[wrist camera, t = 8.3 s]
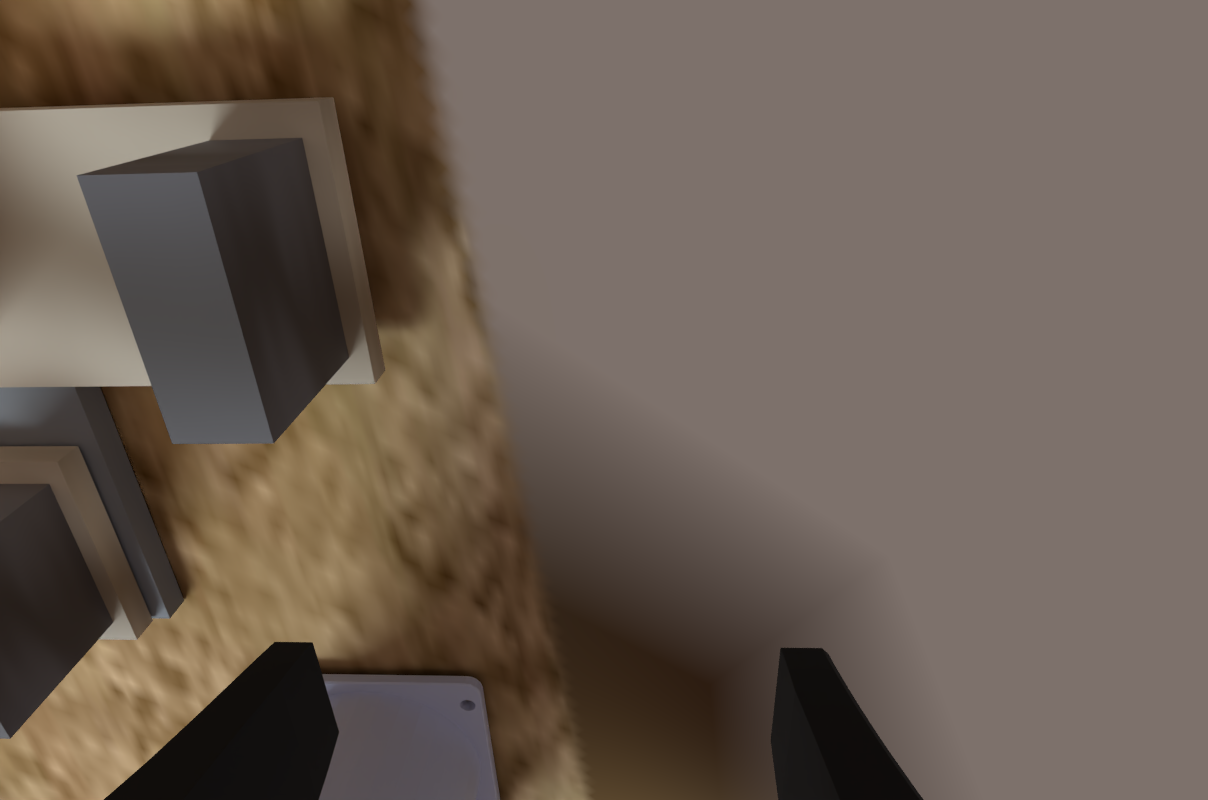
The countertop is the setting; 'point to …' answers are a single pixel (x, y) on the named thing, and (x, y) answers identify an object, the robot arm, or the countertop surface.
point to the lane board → (96, 474)
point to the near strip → (70, 252)
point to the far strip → (87, 527)
